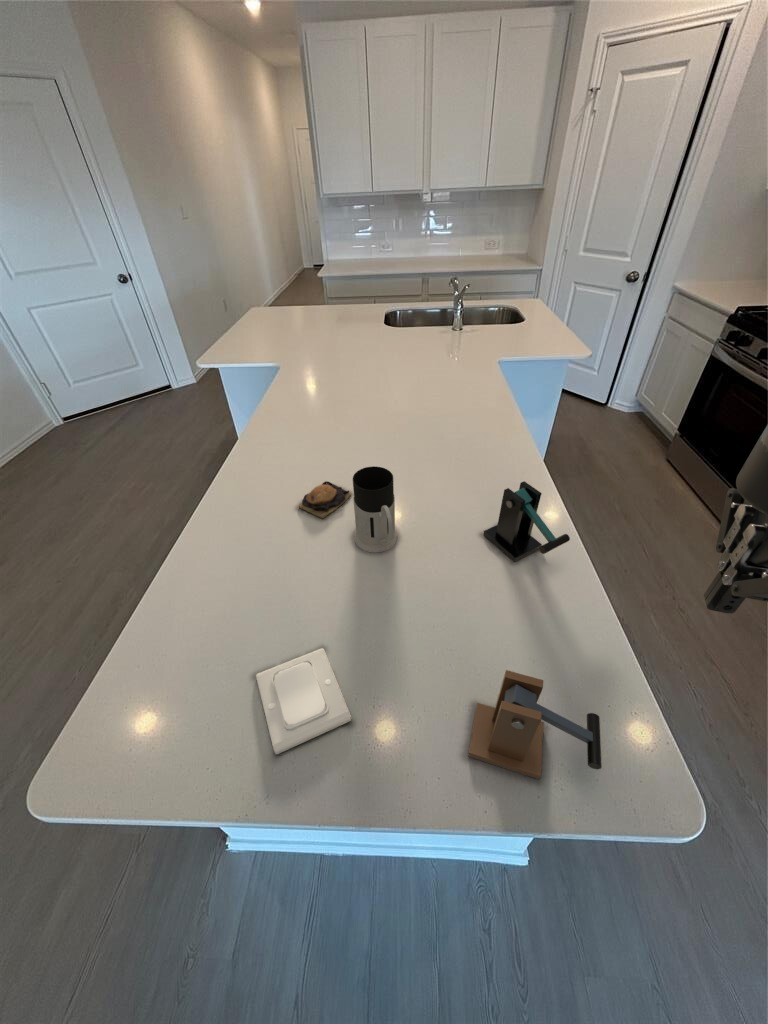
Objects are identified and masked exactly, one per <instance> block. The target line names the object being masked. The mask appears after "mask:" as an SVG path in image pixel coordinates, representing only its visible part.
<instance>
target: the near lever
mask: <svg viewBox="0 0 768 1024" xmlns="http://www.w3.org/2000/svg"><path fill="white" fill-rule="evenodd" d="M536 698H537V695H536V694H534V693H532V692H530V691H528V690H526V689H524V688H522V687H520V686H519V685H517V684H516V685H514V686H513V687H511V688H510V689H508V690H507V691H505V699H504V701H505V702H509V703H512V704H516V705H519V706H522V707H526V708H529V709H533V710H536V711H540V712H542V716H541V721H542V722H545V723H547V724H549V725H551V726H552V727H555V728H557V729H559V730H560V731H562V732H564V733H566V734H567V735H568V734H569V735H570V736H572V737H574V738H576V739H578V740H579V741H582V742H583V743H585V744H586V748H587V749H586V752H587V753H586V754H587V766H588V767H589V768H591V769H593V770H601V769H602V766H603V765H602V764H603V763H602V745H601V744H602V743H601V721H600V720H601V719H600V716H599V715H598V714H597V713H594V712H589V713H587V714H586V728H585V727H583V726H581V725H579V724H577V723H575V722H573V721H572V720H570V719H568V718H566V717H563V716H562V715H560V714H558V713H556V712H554V711H552V710H550V709H549V708H547V707H544V705H541V704H539V703H538V702H537V703H536Z"/></svg>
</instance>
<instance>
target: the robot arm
mask: <svg viewBox="0 0 768 1024" xmlns="http://www.w3.org/2000/svg"><path fill="white" fill-rule="evenodd" d="M735 486H736V488H733V487H732V488H731V487H730V488H729V489H728V490H727V493H726V496H725V501H724V505H723V511H722V515H721V521H720V525H719V531H718V535H717V540H716V545H715V552H716V553H718V554H721V556H720V558H719V559H718V561H717V570H718V572H717V574H716V575H715V577H714V578H713V580H712V581H711V583H710V584H709V586H707V588H706V590H705V592H704V593H703V598H704V601H705V605H706V609H707V610H709V611H713V612H718V613H723V614H735V613H736V611H738V609H739V608H740V607H741V605H742V604H743V603H744V601H745V600H746V599H751V600H756V601H760V602H766V603H768V424H766V426H765V428H764V430H763V431H762V433H761V435H760V436H759V438H758V440H757V441H756V443H755V445H754V447H753V448H752V450H751V452H750V453H749V456H748V457H747V459H746V461H745V462H744V464H743V465H742V467H741V469H740V471H739V473H738V474H737V476H736V480H735Z"/></svg>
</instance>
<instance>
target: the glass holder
mask: <svg viewBox="0 0 768 1024" xmlns="http://www.w3.org/2000/svg"><path fill="white" fill-rule="evenodd" d="M352 488H353V508H354V522H355V523H354V524H355V535H354V543H355V544H356V546H357V547H358V548H360V549H361V550H362V551H365V552H367V553H368V552H369V553H374V554H375V553H383V552H386V551H388V550H390V549H391V548H393V547H394V546H395V545H396V543H397V541H398V533H397V531H396V507H395V505H396V504H395V503H396V502H395V501H396V500H395V499H396V498H395V491H394V474H393V473H392V471H390V470H389V469H388V468H385V467H381V466H366V467H362V468H360V469H359V470H357V471H355V473H354V474H353V476H352Z"/></svg>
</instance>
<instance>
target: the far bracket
mask: <svg viewBox="0 0 768 1024" xmlns="http://www.w3.org/2000/svg"><path fill="white" fill-rule="evenodd" d="M522 488H524V489H525V490H526V491H527V493H528V494H529V495H530V497H531V498H532V499H533V500H532V501H531V502H530V505H531V506H532V507H533V509H534V510H535V511H536V513H537V514H538V509H539V505H540V501H541V498H542V494H543V493H542V492H541V491H540V490H538V489H536V488H535V487H533V486H532V485H531V484H530V483H528V482H526V481H520V484H519V487H518V490H520V489H522ZM524 504H525V500H524V499H523V498H521V497H520V496H519V495H517V494H516V493H515V491H513V490H512V489H510V488H509V487H507V488H505V489H503V496H502V499H501V504H500V510H499V514H498V520H497V524H496V525H493V526H492V527H489V528H487V529H485V530H483V534H482V535H483V537H485V538H486V539H487V540H488V541H489V542H491V544H492V545H494V546H495V547H496V548H497V549H498V550H499V551H500V552H502V553H503V554H504V555H505V556H506V557H507V558H509V559H510V560H511V561H512V563H516V562H518V561H520V560H522V559H523V558H526V557H527V556H529V555H531V554H534V553H535V552H537V551H540V549H539V548H540V546H542V545H543V544H542V543H541V542H540V541H538V540H537V539H536V538H535V537H533V536H532V531H533V527H534V525H535V524H534V522H533V521H532V520H531V518H530V517H529V516H528V514H527V513H526V512H525V510H524Z"/></svg>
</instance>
